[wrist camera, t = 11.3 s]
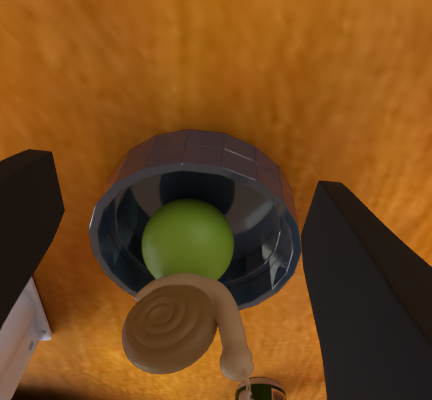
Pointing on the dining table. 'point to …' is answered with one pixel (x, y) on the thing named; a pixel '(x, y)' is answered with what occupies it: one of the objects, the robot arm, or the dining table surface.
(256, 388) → the beer can
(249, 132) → the dining table surface
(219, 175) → the bowl
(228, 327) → the snail figurine
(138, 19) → the dining table surface
